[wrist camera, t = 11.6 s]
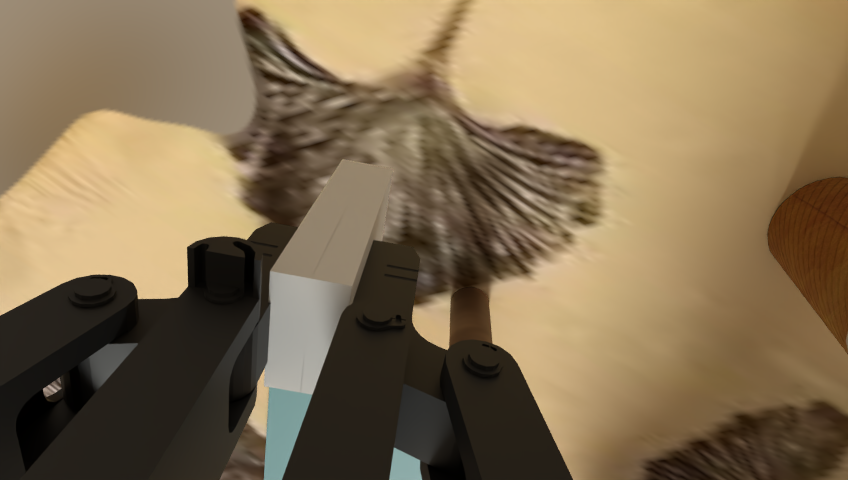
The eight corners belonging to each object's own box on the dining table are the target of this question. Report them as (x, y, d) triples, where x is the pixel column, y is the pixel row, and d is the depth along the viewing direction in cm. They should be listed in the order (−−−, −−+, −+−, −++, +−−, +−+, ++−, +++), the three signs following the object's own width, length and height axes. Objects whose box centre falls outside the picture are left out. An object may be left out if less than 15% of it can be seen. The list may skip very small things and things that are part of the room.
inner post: (492, 291, 36) (501, 381, 28) (484, 322, 37) (490, 418, 29) (454, 284, 36) (452, 373, 28) (447, 315, 37) (443, 409, 29)
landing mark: (459, 383, 40) (459, 385, 39) (426, 507, 46) (425, 509, 46) (272, 349, 39) (271, 351, 39) (264, 479, 46) (263, 480, 45)
